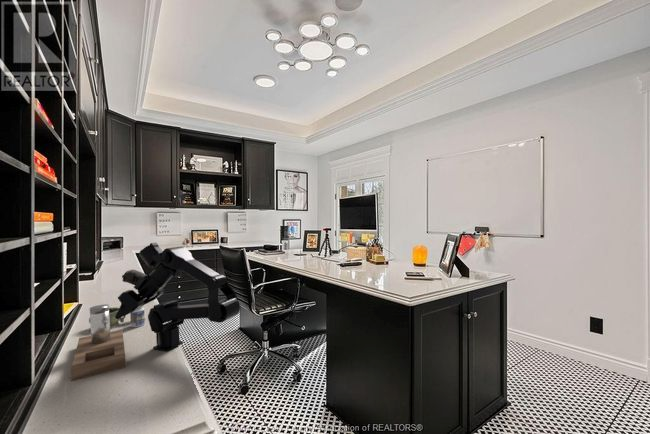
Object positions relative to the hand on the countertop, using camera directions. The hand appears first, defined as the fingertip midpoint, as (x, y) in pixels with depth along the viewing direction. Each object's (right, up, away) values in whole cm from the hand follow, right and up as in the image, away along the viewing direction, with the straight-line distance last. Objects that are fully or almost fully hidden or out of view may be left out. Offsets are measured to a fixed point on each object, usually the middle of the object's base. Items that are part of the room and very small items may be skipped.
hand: (124, 313), depth 101 cm
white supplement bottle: (-12, -12, +29) cm, 33 cm away
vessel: (-21, -12, +22) cm, 32 cm away
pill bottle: (-9, -12, +22) cm, 26 cm away
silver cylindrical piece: (-7, -9, 0) cm, 11 cm away
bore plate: (-4, -12, -5) cm, 13 cm away
